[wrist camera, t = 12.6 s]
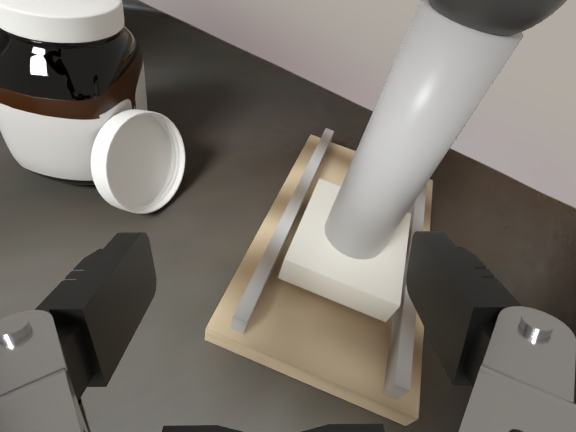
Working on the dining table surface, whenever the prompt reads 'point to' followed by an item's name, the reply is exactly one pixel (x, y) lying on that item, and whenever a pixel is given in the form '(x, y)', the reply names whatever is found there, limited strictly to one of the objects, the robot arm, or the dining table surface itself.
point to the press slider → (404, 150)
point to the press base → (322, 307)
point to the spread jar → (84, 102)
